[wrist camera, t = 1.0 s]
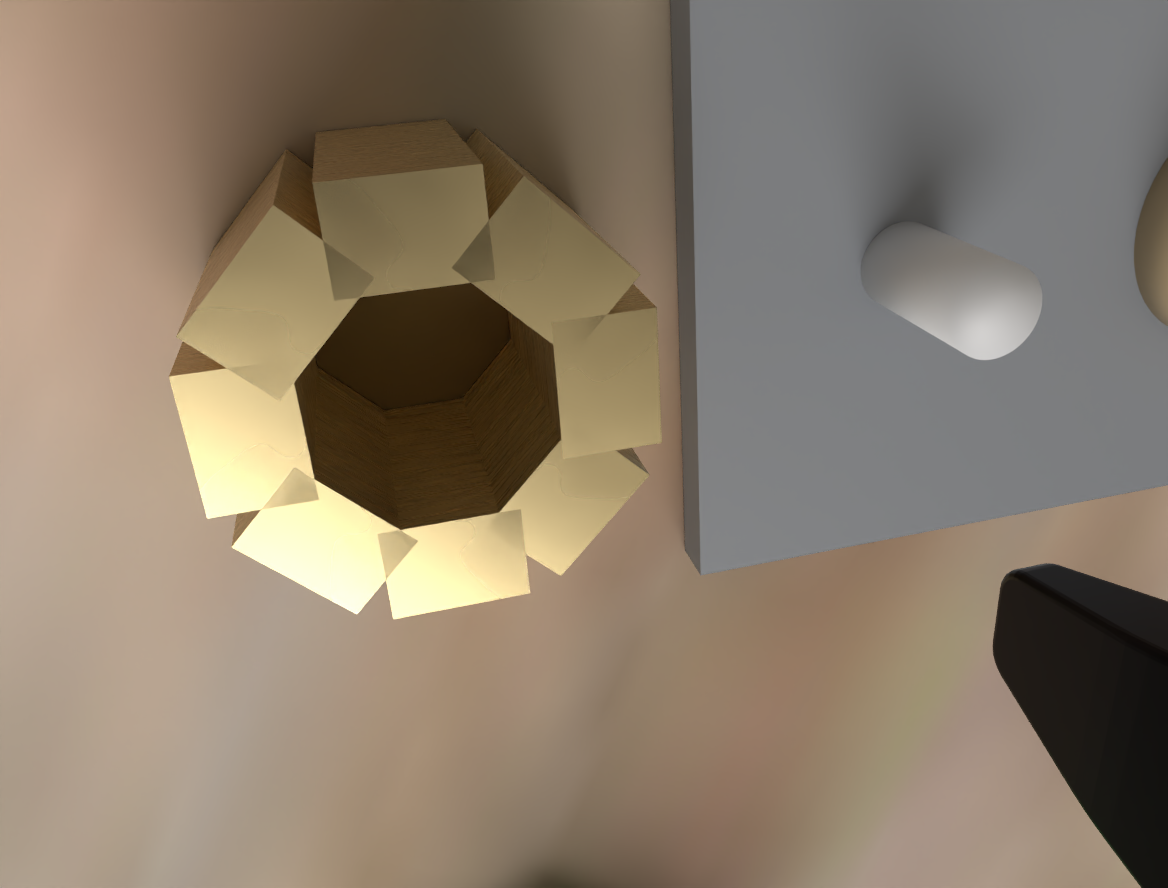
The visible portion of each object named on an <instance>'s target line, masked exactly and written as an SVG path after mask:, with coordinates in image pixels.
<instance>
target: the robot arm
mask: <svg viewBox="0 0 1168 888" xmlns="http://www.w3.org/2000/svg"><path fill="white" fill-rule="evenodd" d="M993 655H994V659H995V663H996V666H997V668H998V670H999V672H1000V674H1001V676H1002V678H1003V679H1004V681H1005V683H1006V684H1007V686H1008V688H1009V689H1010V691H1011V692H1012V694H1013V696H1014V697H1015V699H1016V701H1017V702H1018V704H1019V705H1020V707H1021V709H1022V710H1023V712H1024V714H1025V715H1026V717H1027V719H1028V720H1029V722H1030V723H1031V725H1032V727H1033V728H1034V730H1035V732H1036V733H1037V735H1038V736H1039V738H1040V740H1041V741H1042V743H1043V745H1044V746H1045V748H1046V750H1047V751H1048V753H1049V754H1050V756H1051V758H1052V759H1053V761H1054V763H1055V764H1056V766H1057V767H1058V769H1059V771H1060V772H1061V774H1062V776H1063V777H1064V779H1065V781H1066V782H1067V784H1068V785H1069V787H1070V789H1071V790H1072V792H1073V793H1074V795H1075V797H1076V798H1077V800H1078V801H1079V803H1080V804H1081V806H1082V807H1083V809H1084V810H1085V812H1086V813H1087V815H1088V816H1089V818H1090V819H1091V821H1092V822H1093V823H1094V825H1095V826H1096V828H1097V829H1098V830H1099V832H1100V833H1101V834H1102V836H1103V837H1104V839H1105V840H1106V841H1107V843H1108V844H1109V845H1110V847H1111V848H1112V849H1113V851H1114V852H1115V853H1116V855H1117V856H1118V857H1119V859H1120V860H1121V861H1122V863H1123V864H1124V865H1125V867H1126V868H1127V869H1128V871H1129V872H1130V873H1131V875H1132V876H1133V877H1134V878H1135V880H1136V881H1137V882H1138V884H1139V885H1140V886H1141V888H1168V601H1165V600H1162V599H1159V598H1156V597H1153V596H1150V595H1147V594H1144V593H1141V592H1138V591H1135V590H1132V589H1129V588H1126V587H1123V586H1120V585H1117V584H1114V583H1111V582H1108V581H1105V580H1102V579H1099V578H1096V577H1093V576H1090V575H1087V574H1084V573H1081V572H1077V571H1074V570H1071V569H1068V568H1065V567H1062V566H1059V565H1056V564H1040V565H1035V566H1031V567H1026V568H1021V569H1016V570H1013V571H1011V572H1009V573H1008V574H1006V576H1005V577H1004V579H1003V581H1002V583H1001V587H1000V594H999V601H998V609H997V616H996V623H995V631H994V638H993Z"/></svg>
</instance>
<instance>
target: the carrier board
mask: <svg viewBox="0 0 1168 888" xmlns="http://www.w3.org/2000/svg"><path fill="white" fill-rule="evenodd" d="M670 10H671V47H672V84H673V121H674V158H675V195H676V232H677V269H678V305H679V342H680V379H681V416H682V453H683V490H684V527H685V551H686V553H687V554H688V556H689V557H690V559H691V561H692V562H693V564H694V565H695V567H696V569H697V570H698V572H699V573H700V575H705V574H710V573H715V572H720V571H726V570H731V569H736V568H741V567H746V566H751V565H757V564H762V563H767V562H772V561H777V560H783V559H788V558H793V557H798V556H803V555H808V554H814V553H819V552H824V551H829V550H834V549H840V548H845V547H850V546H855V545H860V544H865V543H871V542H876V541H881V540H886V539H891V538H896V537H902V536H907V535H912V534H917V533H922V532H928V531H933V530H938V529H943V528H948V527H953V526H959V525H964V524H969V523H974V522H979V521H985V520H990V519H995V518H1000V517H1005V516H1010V515H1016V514H1021V513H1026V512H1031V511H1036V510H1042V509H1047V508H1052V507H1057V506H1062V505H1067V504H1073V503H1078V502H1083V501H1088V500H1093V499H1099V498H1104V497H1109V496H1114V495H1119V494H1124V493H1130V492H1135V491H1140V490H1145V489H1150V488H1155V487H1161V486H1166V485H1168V0H670Z"/></svg>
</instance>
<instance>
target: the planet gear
mask: <svg viewBox="0 0 1168 888" xmlns="http://www.w3.org/2000/svg"><path fill="white" fill-rule="evenodd" d="M639 276H640V273H639V272H638V271H637V270H636V269H635V268H634V267H632V266H631V265H630V264H629V263H628V262H627V261H626V260H625V259H624V258H623V257H622V256H621V255H620V254H619V253H618V252H617V251H615V250H614V249H613V248H612V247H611V246H610V245H609V244H608V243H607V242H606V241H605V240H604V239H603V238H602V237H601V236H600V235H599V234H597V233H596V232H595V231H594V230H593V229H592V228H591V227H590V226H589V225H588V224H587V223H586V222H585V221H584V220H583V219H582V218H580V217H579V216H578V215H577V214H576V213H575V212H574V211H573V210H572V209H571V208H570V207H569V206H568V205H566V204H565V203H564V202H563V201H562V200H560V199H559V198H558V197H557V196H556V195H554V194H553V193H552V192H551V191H550V190H549V189H547V188H546V187H545V186H544V185H543V184H541V183H540V182H539V181H538V180H537V179H535V178H534V177H533V176H532V175H531V174H530V173H528V172H527V171H526V170H525V169H524V168H522V167H521V166H520V165H519V164H518V163H517V162H515V161H514V160H513V159H512V158H511V157H509V156H508V155H507V154H506V153H505V152H503V151H502V150H501V149H500V148H499V147H498V146H496V145H495V144H494V143H493V142H492V141H490V140H489V139H488V138H487V137H486V136H484V135H483V134H482V133H481V132H480V131H479V130H477V129H476V131H475V132H474V133H473V134H472V136H471V137H470V138H469V140H468V141H467V142H466V143H465V142H464V141H463V140H462V139H461V137H460V136H459V135H458V134H457V133H456V132H455V130H454V129H453V128H452V127H451V126H450V124H449V123H448V122H447V121H446V120H445V119H441V120H431V121H421V122H411V123H401V124H392V125H382V126H372V127H362V128H353V129H343V130H333V131H323V132H316V137H315V151H314V165H313V169H312V168H311V167H310V166H308V165H307V164H306V163H305V162H303V161H302V160H301V159H299V158H298V157H297V156H295V155H294V154H293V153H291V152H290V151H289V150H287V149H286V150H285V152H284V153H283V154H282V156H281V157H280V158H279V160H278V161H277V163H276V164H275V165H274V167H273V168H272V169H271V171H270V172H269V174H268V175H267V176H266V178H265V179H264V180H263V182H262V183H261V185H260V186H259V187H258V189H257V190H256V191H255V193H254V194H253V196H252V197H251V198H250V200H249V201H248V202H247V204H246V205H245V207H244V208H243V209H242V211H241V212H240V213H239V215H238V216H237V218H236V219H235V220H234V222H233V223H232V224H231V226H230V227H229V229H228V230H227V231H226V233H225V234H224V235H223V237H222V238H221V240H220V241H219V242H218V244H217V245H216V246H215V248H214V249H213V251H212V253H211V255H210V258H209V260H208V262H207V265H206V267H205V270H204V272H203V274H202V277H201V279H200V281H199V284H198V286H197V289H196V291H195V293H194V296H193V298H192V301H191V303H190V305H189V308H188V310H187V312H186V315H185V317H184V320H183V322H182V324H181V327H180V329H179V331H178V334H177V336H176V337H177V338H179V339H180V340H182V341H183V342H182V345H181V347H180V350H179V352H178V355H177V358H176V360H175V363H174V365H173V368H172V370H171V373H170V375H169V379H170V382H171V386H172V390H173V393H174V397H175V401H176V405H177V408H178V412H179V416H180V419H181V423H182V427H183V430H184V434H185V438H186V441H187V445H188V449H189V452H190V456H191V460H192V463H193V467H194V471H195V474H196V478H197V482H198V485H199V489H200V493H201V497H202V500H203V504H204V508H205V511H206V515H207V519H208V518H214V517H220V516H226V515H232V514H237V518H236V524H235V530H234V536H233V542H232V548H234V549H236V550H238V551H240V552H241V553H243V554H245V555H247V556H249V557H251V558H253V559H255V560H256V561H258V562H260V563H262V564H264V565H266V566H268V567H269V568H271V569H273V570H275V571H277V572H279V573H281V574H283V575H284V576H286V577H288V578H290V579H292V580H294V581H296V582H298V583H299V584H301V585H303V586H305V587H307V588H309V589H311V590H313V591H314V592H316V593H318V594H320V595H322V596H324V597H326V598H328V599H329V600H331V601H333V602H335V603H337V604H339V605H341V606H342V607H344V608H346V609H348V610H350V611H352V612H354V613H356V614H358V613H359V611H360V610H361V609H362V608H363V607H364V605H365V604H366V603H367V602H368V601H369V599H370V598H371V597H372V596H373V595H374V593H375V592H376V591H377V590H378V589H379V587H380V586H381V585H382V584H383V583H384V581H385V580H386V582H387V588H388V593H389V599H390V604H391V609H392V615H393V619H397V618H403V617H408V616H413V615H418V614H424V613H429V612H434V611H439V610H445V609H450V608H455V607H460V606H466V605H471V604H476V603H481V602H487V601H492V600H497V599H503V598H508V597H513V596H518V595H524V594H529V593H530V588H529V579H528V570H527V561H526V555H528V556H530V557H531V558H533V559H535V560H536V561H538V562H539V563H541V564H543V565H544V566H546V567H547V568H549V569H551V570H552V571H554V572H555V573H557V574H559V575H560V576H561V575H562V574H563V573H564V572H565V571H566V570H567V568H568V567H569V566H570V565H571V564H572V563H573V562H574V560H575V559H576V558H577V557H578V556H579V555H580V554H581V552H582V551H583V550H584V549H585V548H586V547H587V546H588V545H589V543H590V542H591V541H592V540H593V539H594V538H595V537H596V535H597V534H598V533H599V532H600V531H601V530H602V529H603V527H604V526H605V525H606V524H607V523H608V522H609V521H610V519H611V518H612V517H613V516H614V515H615V514H616V513H617V512H618V510H619V509H620V508H621V507H622V506H623V505H624V504H625V502H626V501H627V500H628V499H629V498H630V497H631V496H632V494H633V493H634V492H635V491H636V490H637V489H638V488H639V486H640V485H641V484H642V483H643V482H644V481H645V480H646V479H647V477H648V476H649V474H648V472H647V471H646V469H645V467H644V466H643V464H642V463H641V461H640V460H639V458H638V457H637V455H636V454H635V452H634V450H633V449H632V448H633V447H639V446H645V445H651V444H657V443H662V438H661V411H660V384H659V357H658V330H657V307H656V306H655V305H654V304H653V303H652V302H651V301H650V300H649V299H648V298H647V297H646V296H645V295H644V294H643V293H642V292H641V291H640V290H639V289H638V288H637V287H636V286H635V285H634V284H633V283H634V282H635V280H636V279H637V278H638V277H639ZM465 283H472V284H473V285H475V286H476V287H477V288H479V289H480V290H481V291H483V292H484V293H485V294H487V295H488V296H489V297H491V298H492V299H493V300H495V301H496V302H497V303H499V304H500V305H501V306H503V307H504V308H505V309H507V310H508V319H509V328H510V338H511V339H510V341H509V342H508V343H507V344H506V346H505V347H504V348H503V349H502V350H501V352H500V353H499V354H498V355H497V357H496V358H495V359H494V360H493V361H492V363H491V364H490V365H489V366H488V368H487V369H486V370H485V371H484V373H483V374H482V375H481V376H480V377H479V379H478V380H477V381H476V382H475V384H474V385H473V386H472V387H471V388H470V390H469V391H468V392H467V393H466V395H465V396H464V397H463V398H462V399H456V400H450V401H443V402H437V403H430V404H423V405H417V406H410V407H404V408H397V409H391V410H383V409H381V408H380V407H378V406H377V405H375V404H373V403H372V402H370V401H369V400H367V399H366V398H364V397H363V396H361V395H360V394H358V393H357V392H355V391H354V390H352V389H350V388H349V387H347V386H346V385H344V384H343V383H341V382H340V381H338V380H337V379H335V378H334V377H332V376H330V375H329V374H327V373H326V372H324V371H323V370H321V369H320V368H318V367H317V362H316V357H315V355H316V354H317V352H318V351H319V350H320V348H321V347H322V346H323V344H324V343H325V342H326V341H327V339H328V338H329V337H330V335H331V334H332V333H333V331H334V330H335V329H336V328H337V326H338V325H339V324H340V322H341V321H342V320H343V318H344V317H345V316H346V315H347V313H348V312H349V311H350V309H351V308H352V307H353V306H354V304H355V303H356V302H357V300H358V299H359V298H360V297H367V296H375V295H382V294H390V293H397V292H405V291H412V290H420V289H428V288H435V287H443V286H450V285H458V284H465Z"/></svg>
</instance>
